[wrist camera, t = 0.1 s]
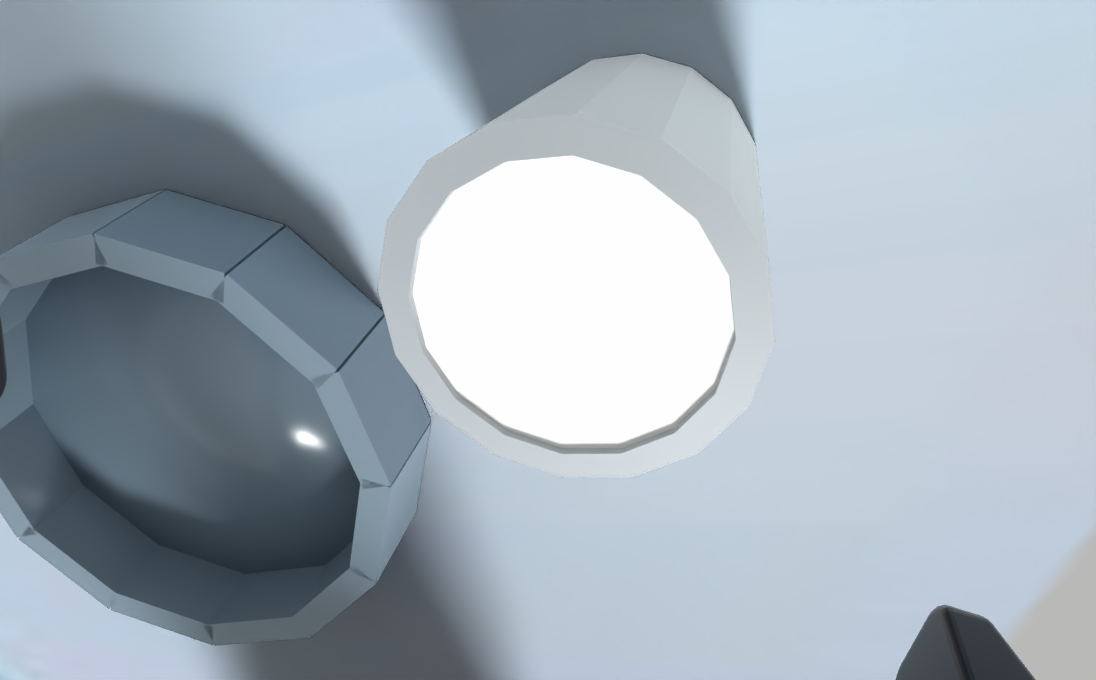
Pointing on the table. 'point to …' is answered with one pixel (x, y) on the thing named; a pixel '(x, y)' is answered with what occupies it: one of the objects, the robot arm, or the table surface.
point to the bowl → (203, 420)
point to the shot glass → (588, 273)
